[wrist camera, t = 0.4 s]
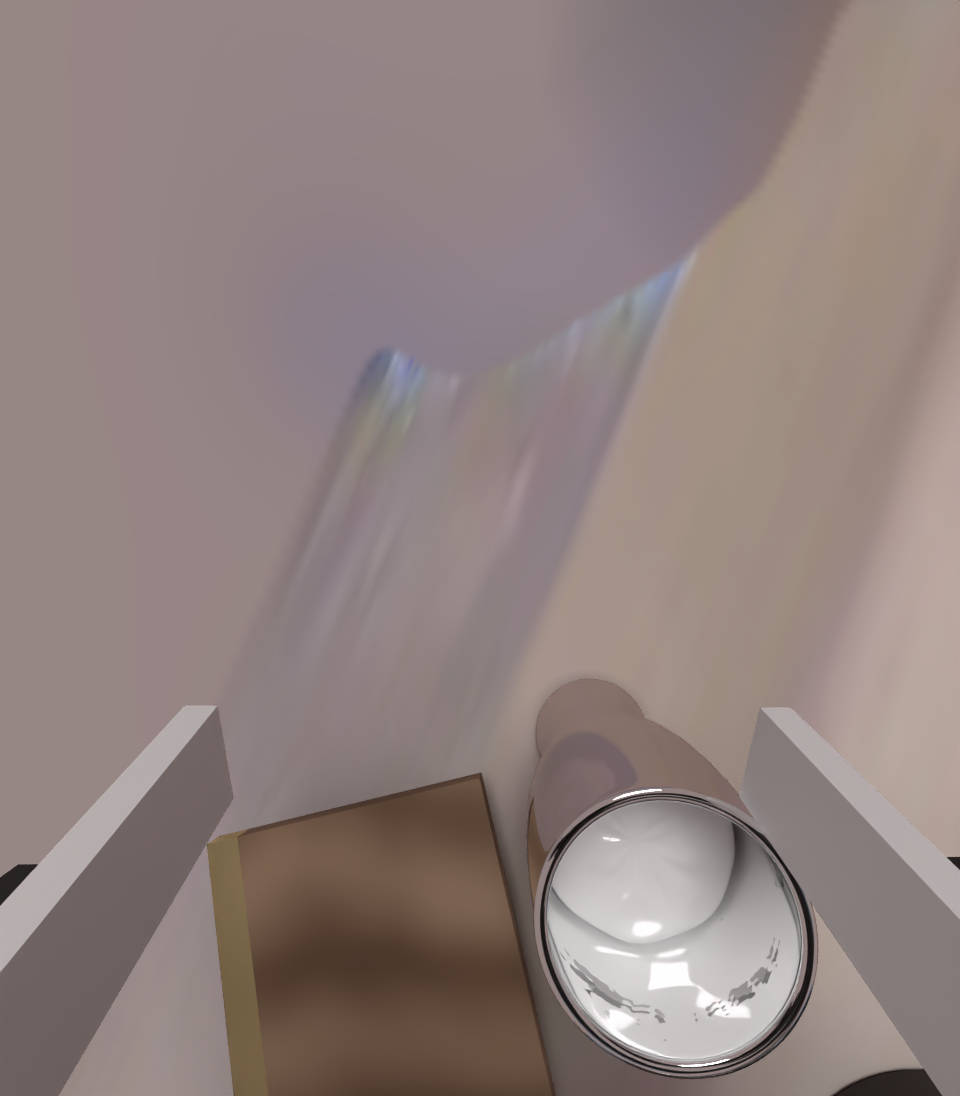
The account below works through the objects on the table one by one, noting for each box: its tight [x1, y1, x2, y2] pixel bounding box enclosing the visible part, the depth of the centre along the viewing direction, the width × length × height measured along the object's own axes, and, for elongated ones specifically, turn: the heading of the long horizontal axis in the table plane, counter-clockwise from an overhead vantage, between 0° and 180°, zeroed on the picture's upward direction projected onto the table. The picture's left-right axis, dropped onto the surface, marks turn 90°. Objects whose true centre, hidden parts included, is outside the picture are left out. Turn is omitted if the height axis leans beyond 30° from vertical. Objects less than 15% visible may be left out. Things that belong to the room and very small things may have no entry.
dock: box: [207, 773, 556, 1096], centre depth 23 cm, size 14×14×4 cm
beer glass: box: [526, 679, 818, 1079], centre depth 19 cm, size 7×7×15 cm
